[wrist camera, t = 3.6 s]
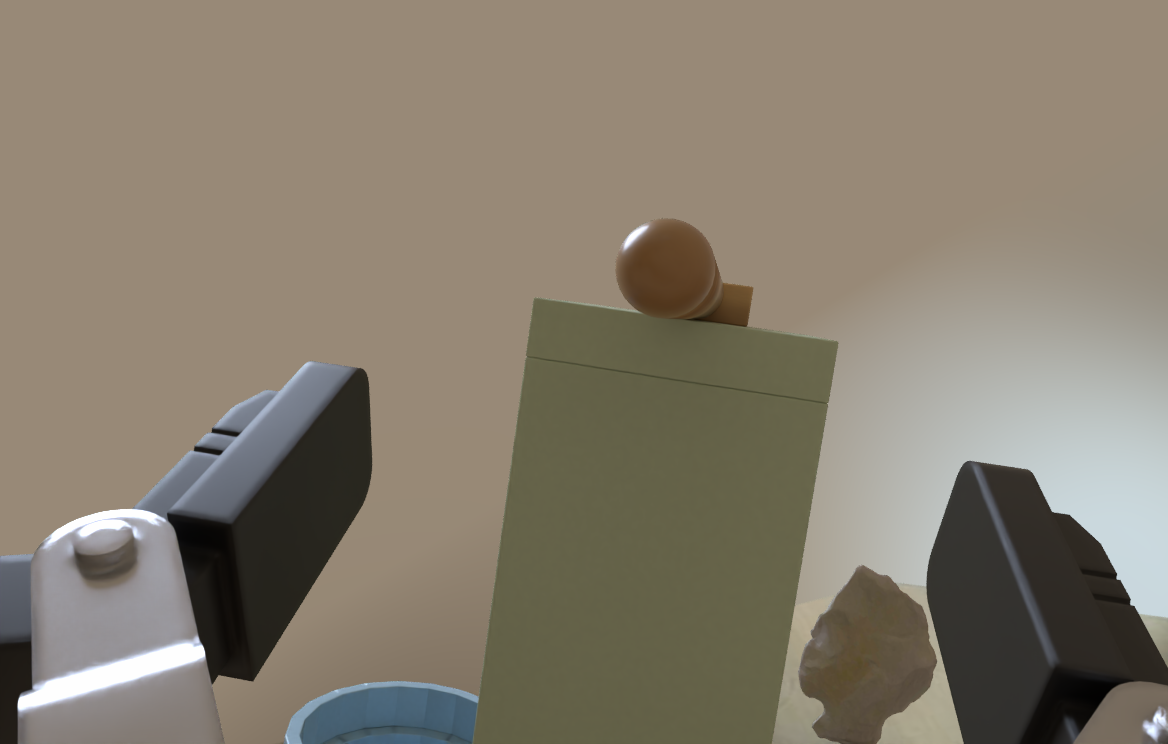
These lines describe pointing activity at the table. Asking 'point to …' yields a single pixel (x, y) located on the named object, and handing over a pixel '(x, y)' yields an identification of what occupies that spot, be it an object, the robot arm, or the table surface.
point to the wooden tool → (678, 276)
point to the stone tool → (866, 658)
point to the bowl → (386, 715)
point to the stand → (651, 529)
